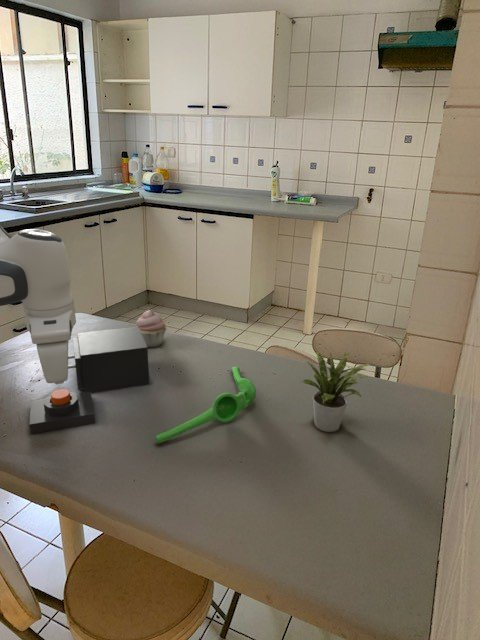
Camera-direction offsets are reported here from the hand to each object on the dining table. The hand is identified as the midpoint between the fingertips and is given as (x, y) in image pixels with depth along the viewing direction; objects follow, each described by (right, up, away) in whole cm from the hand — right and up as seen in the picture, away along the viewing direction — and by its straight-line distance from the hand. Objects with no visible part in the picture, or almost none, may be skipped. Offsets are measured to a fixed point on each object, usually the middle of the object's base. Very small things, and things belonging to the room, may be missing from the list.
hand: (59, 380), depth 93 cm
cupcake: (+11, +6, +37) cm, 39 cm away
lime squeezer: (+32, -8, +7) cm, 34 cm away
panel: (0, -8, +3) cm, 8 cm away
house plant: (+55, -10, +3) cm, 56 cm away
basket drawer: (+2, -1, +18) cm, 18 cm away
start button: (0, -4, +2) cm, 5 cm away
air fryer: (+6, -1, +19) cm, 20 cm away
